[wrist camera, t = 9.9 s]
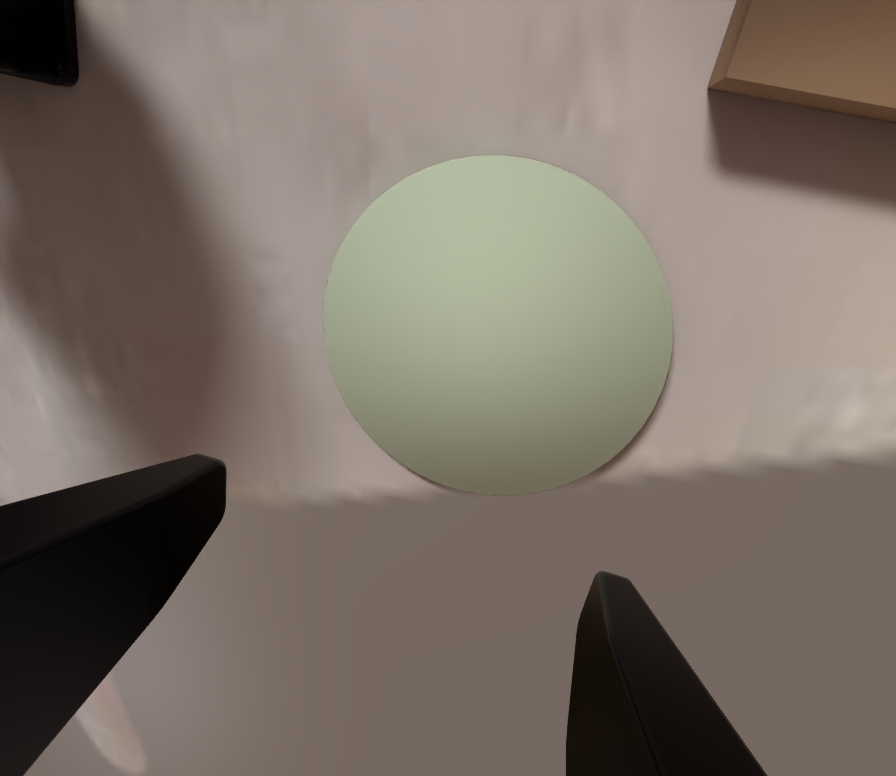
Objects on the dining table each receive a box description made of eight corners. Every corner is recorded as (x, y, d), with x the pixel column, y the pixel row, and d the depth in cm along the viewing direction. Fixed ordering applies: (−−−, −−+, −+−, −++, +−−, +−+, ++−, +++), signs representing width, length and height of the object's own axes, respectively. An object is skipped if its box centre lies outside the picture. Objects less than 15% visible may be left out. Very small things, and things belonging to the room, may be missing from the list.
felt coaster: (606, 523, 20) (607, 533, 19) (316, 439, 21) (309, 446, 20) (728, 200, 15) (734, 202, 15) (350, 120, 17) (342, 119, 16)
